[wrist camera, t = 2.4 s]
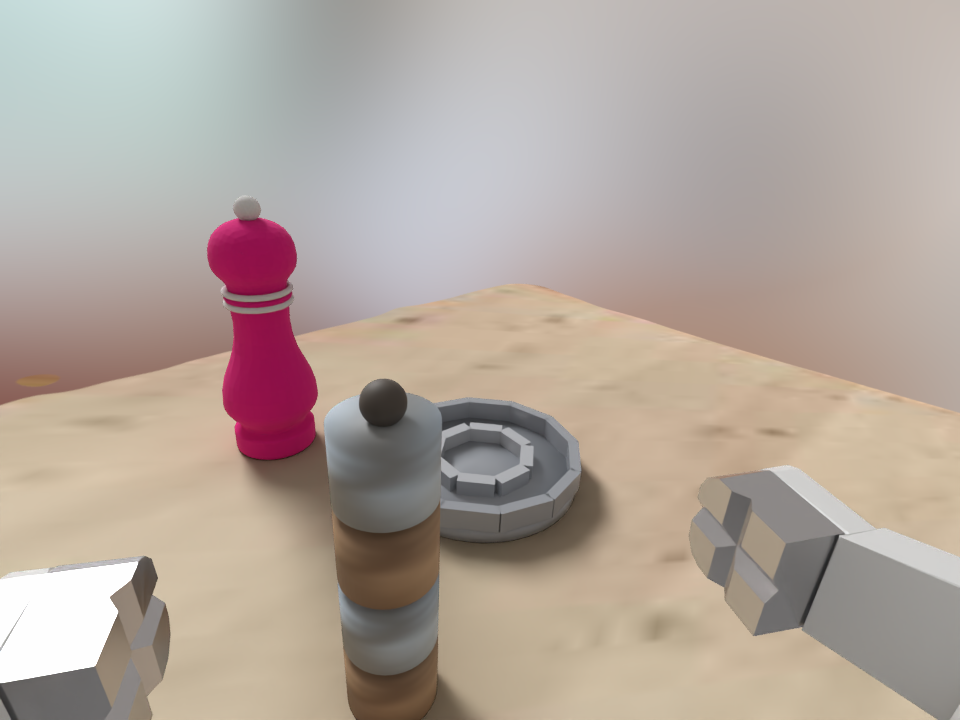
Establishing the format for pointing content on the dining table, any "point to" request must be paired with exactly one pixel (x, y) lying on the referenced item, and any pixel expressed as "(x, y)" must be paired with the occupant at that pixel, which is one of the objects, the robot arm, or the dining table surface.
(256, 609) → the dining table surface
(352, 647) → the bead column
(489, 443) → the tray
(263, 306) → the pepper mill
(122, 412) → the dining table surface
